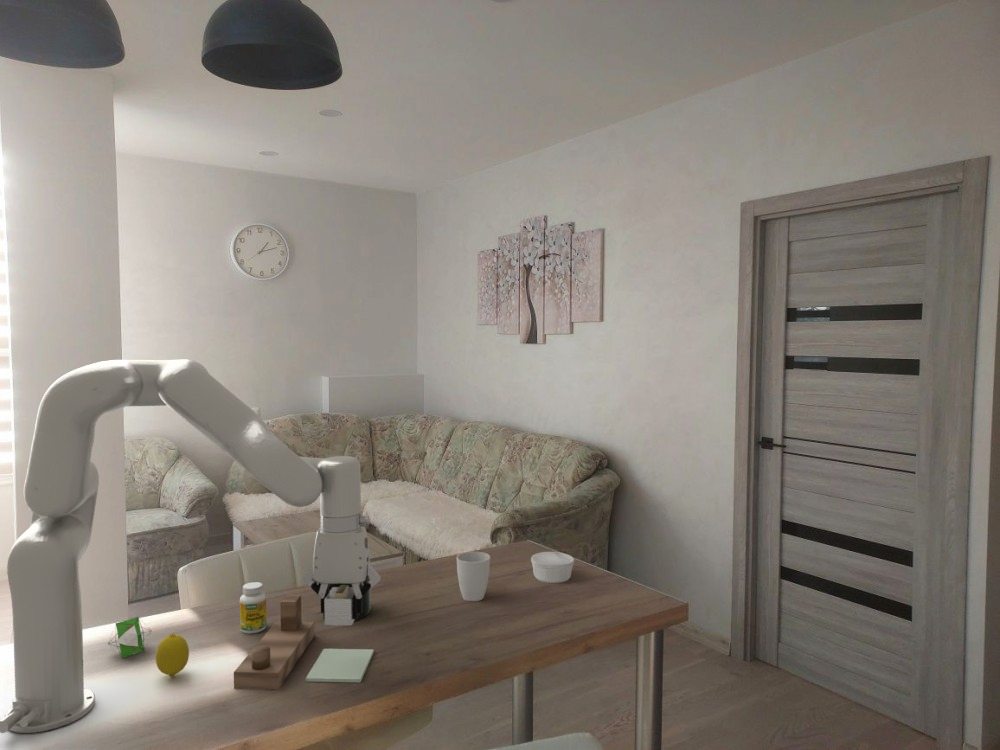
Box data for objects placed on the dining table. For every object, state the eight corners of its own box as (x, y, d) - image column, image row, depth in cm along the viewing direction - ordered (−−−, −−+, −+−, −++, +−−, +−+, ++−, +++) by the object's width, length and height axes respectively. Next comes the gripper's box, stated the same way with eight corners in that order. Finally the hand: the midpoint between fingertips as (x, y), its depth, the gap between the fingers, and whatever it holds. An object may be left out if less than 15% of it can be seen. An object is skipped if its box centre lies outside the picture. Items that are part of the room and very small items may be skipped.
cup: (496, 595, 169) (496, 555, 168) (477, 606, 162) (477, 564, 162) (468, 588, 173) (469, 549, 173) (449, 599, 166) (449, 558, 166)
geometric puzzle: (101, 640, 138) (109, 615, 134) (137, 629, 143) (146, 605, 140) (113, 670, 134) (121, 645, 131) (149, 658, 140) (159, 634, 136)
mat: (360, 682, 126) (360, 679, 126) (305, 681, 126) (305, 678, 126) (373, 652, 138) (373, 649, 138) (323, 651, 138) (323, 648, 138)
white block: (351, 625, 129) (351, 594, 128) (324, 625, 129) (324, 594, 129) (358, 612, 135) (358, 583, 134) (333, 612, 135) (332, 583, 134)
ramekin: (582, 577, 183) (582, 557, 182) (557, 588, 174) (557, 568, 174) (548, 567, 190) (548, 548, 190) (522, 578, 182) (522, 558, 181)
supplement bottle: (262, 621, 152) (262, 579, 152) (269, 630, 148) (269, 586, 147) (237, 627, 149) (236, 583, 149) (243, 636, 145) (242, 591, 144)
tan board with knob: (278, 689, 123) (277, 640, 123) (233, 688, 124) (233, 639, 123) (314, 636, 145) (313, 594, 145) (276, 635, 146) (275, 593, 145)
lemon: (167, 686, 124) (166, 643, 124) (149, 678, 127) (148, 635, 127) (195, 674, 129) (194, 632, 128) (177, 666, 132) (176, 625, 131)
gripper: (389, 517, 134) (390, 609, 135) (302, 517, 135) (303, 608, 136) (381, 528, 127) (382, 625, 128) (289, 527, 127) (291, 624, 128)
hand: (342, 615), depth 132 cm, fingers closed on white block, 5 cm apart
